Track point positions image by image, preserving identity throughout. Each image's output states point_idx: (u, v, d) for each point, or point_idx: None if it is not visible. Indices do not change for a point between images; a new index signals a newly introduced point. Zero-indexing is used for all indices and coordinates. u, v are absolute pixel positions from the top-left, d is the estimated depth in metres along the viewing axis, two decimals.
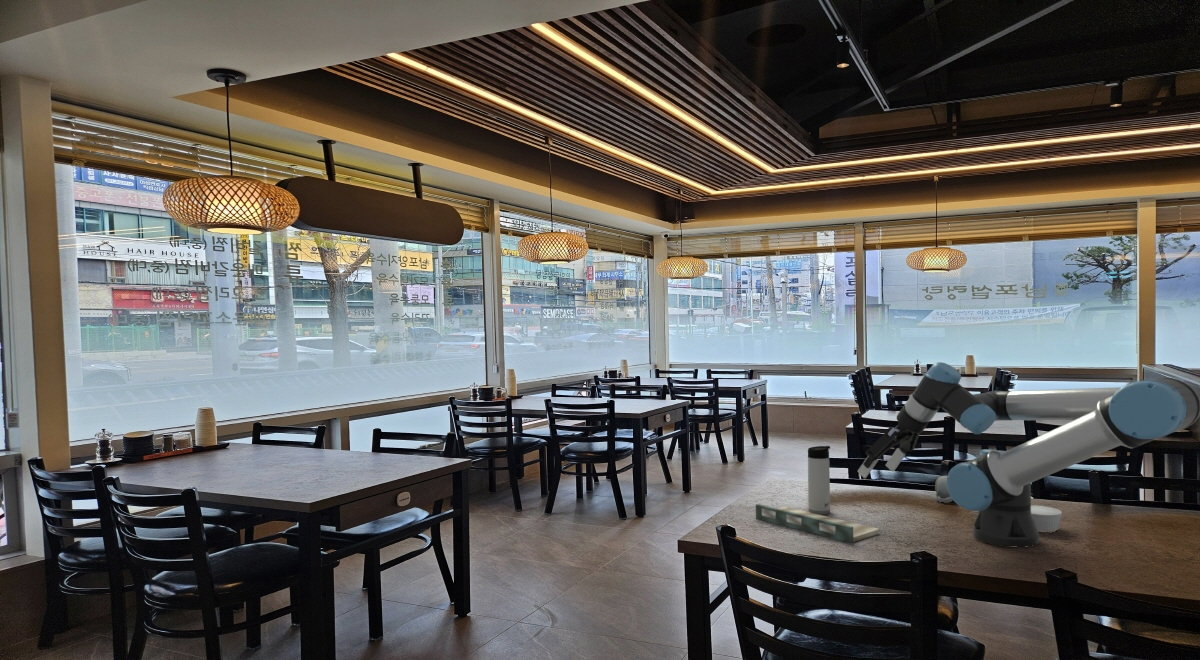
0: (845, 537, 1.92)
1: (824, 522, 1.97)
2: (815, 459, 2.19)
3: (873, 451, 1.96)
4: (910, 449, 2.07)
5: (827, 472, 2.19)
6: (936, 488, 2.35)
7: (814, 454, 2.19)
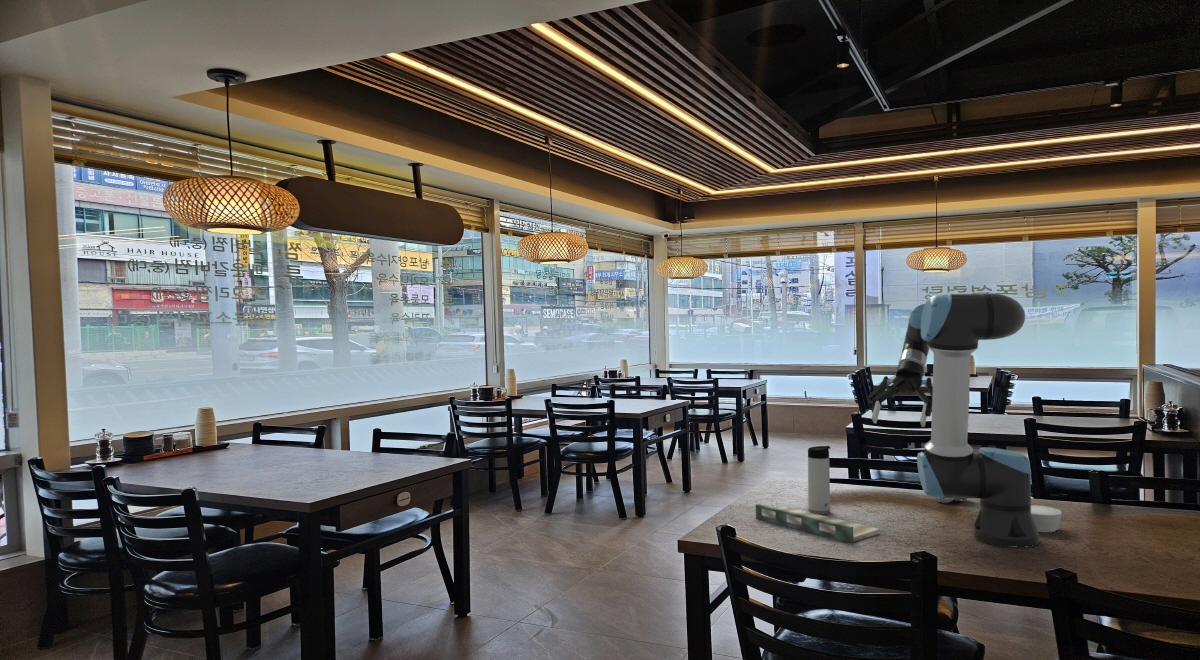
0: (845, 537, 1.92)
1: (824, 522, 1.97)
2: (815, 459, 2.19)
3: None
4: None
5: (827, 472, 2.19)
6: None
7: (814, 454, 2.19)
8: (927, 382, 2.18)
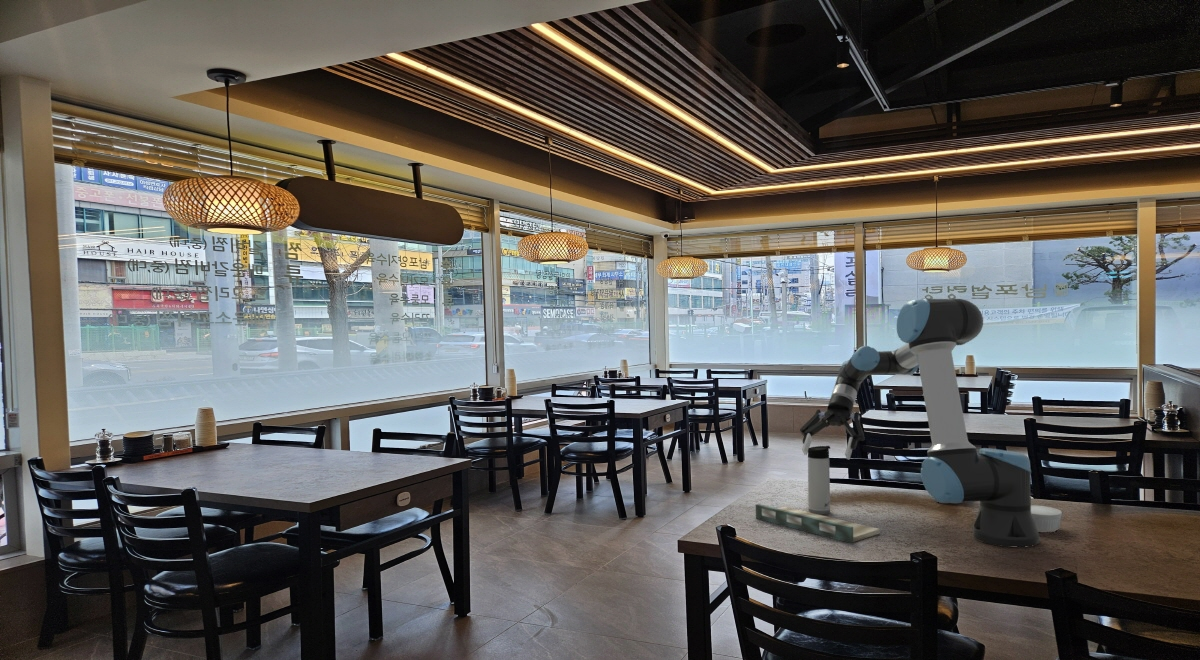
0: (845, 537, 1.92)
1: (824, 522, 1.97)
2: (815, 459, 2.19)
3: None
4: (859, 434, 2.26)
5: (827, 472, 2.19)
6: None
7: (814, 454, 2.19)
8: (854, 416, 2.31)
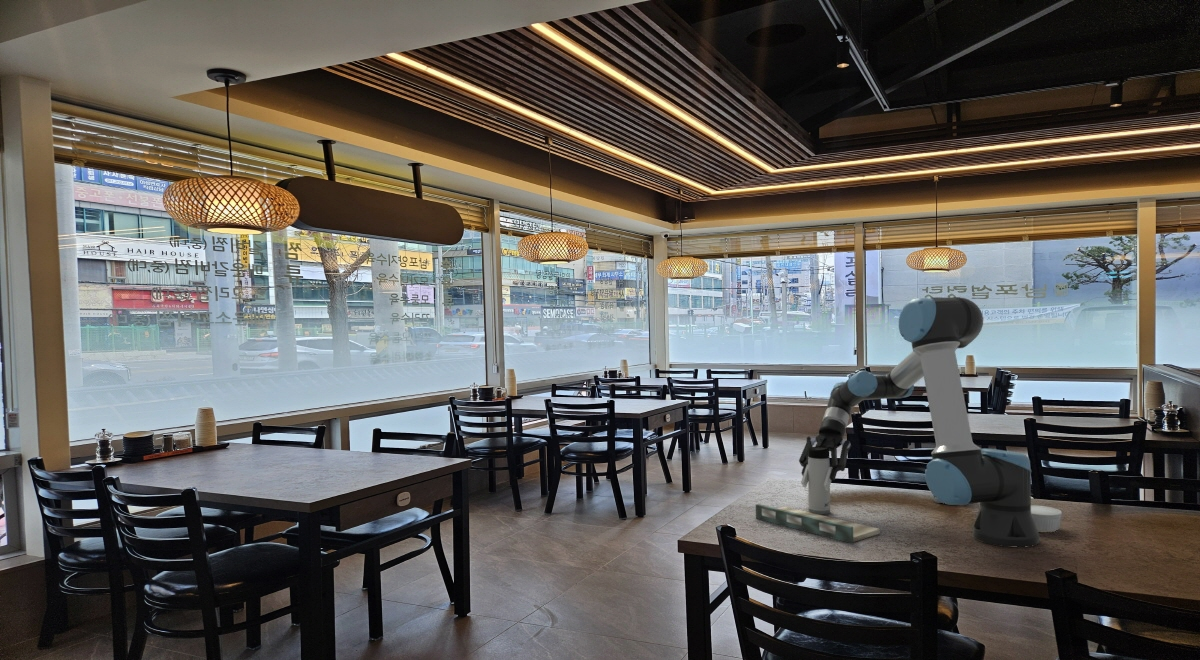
0: (845, 537, 1.92)
1: (824, 522, 1.97)
2: (815, 459, 2.19)
3: None
4: (838, 465, 2.19)
5: None
6: None
7: (815, 454, 2.19)
8: (844, 444, 2.23)
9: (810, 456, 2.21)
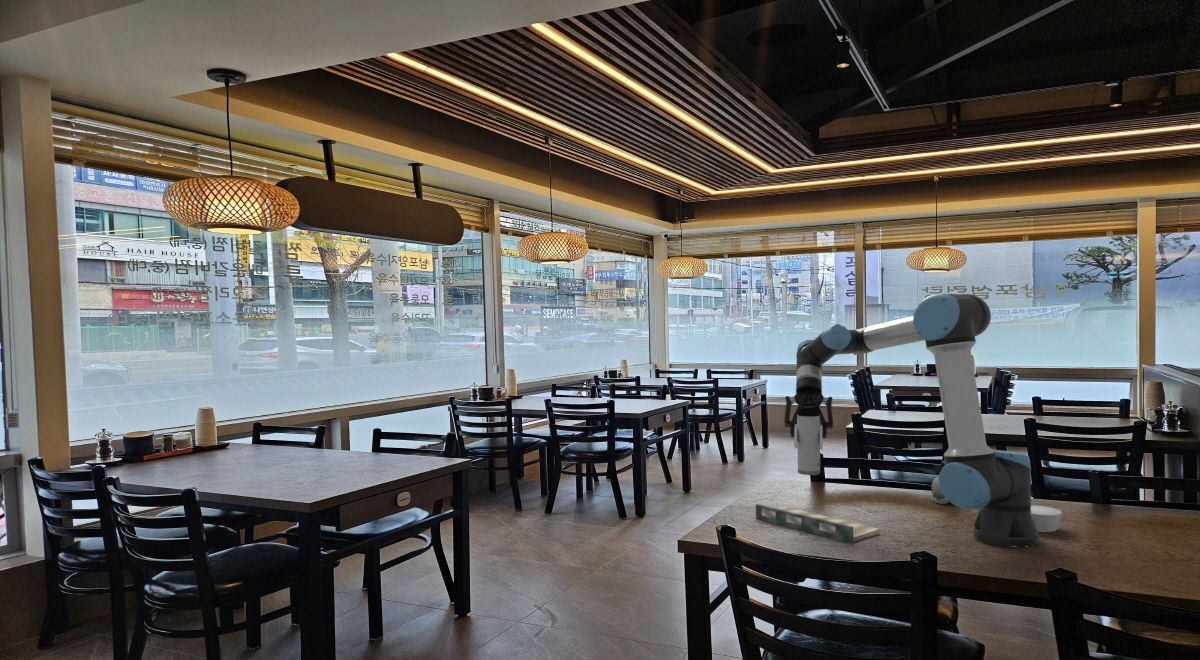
0: (845, 537, 1.92)
1: (824, 522, 1.97)
2: (808, 417, 2.08)
3: (785, 419, 2.16)
4: (828, 422, 2.11)
5: (819, 430, 2.10)
6: (932, 489, 2.34)
7: (808, 412, 2.08)
8: (828, 401, 2.16)
9: (802, 414, 2.09)
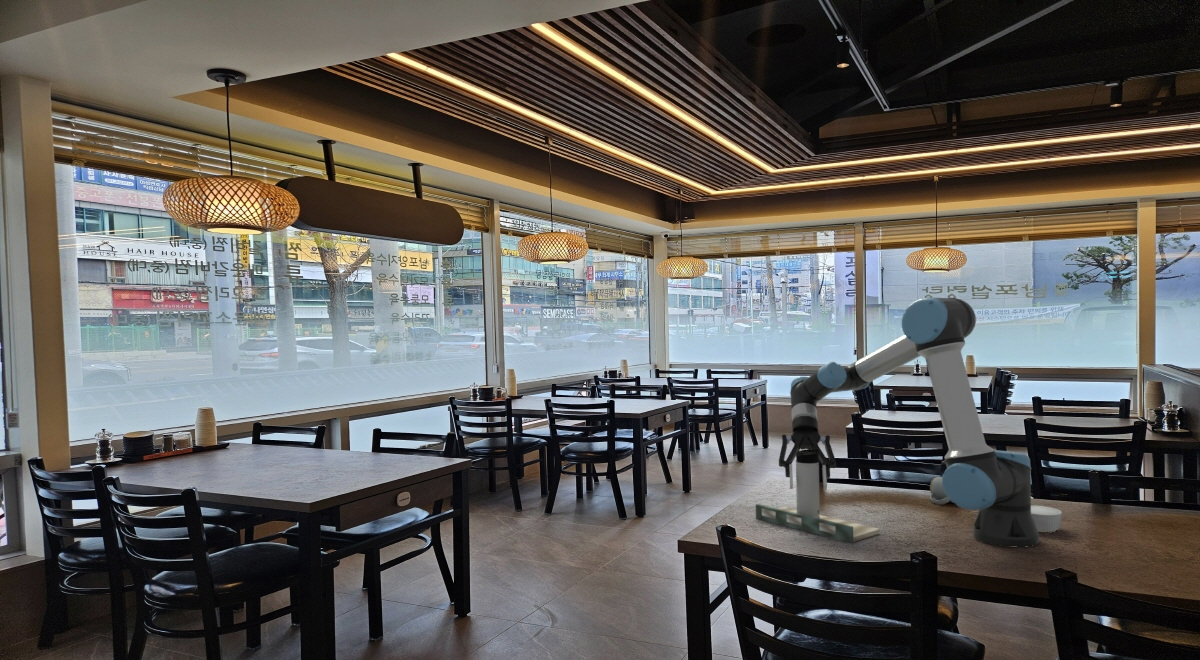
0: (845, 537, 1.92)
1: (824, 522, 1.97)
2: (808, 464, 2.06)
3: None
4: (831, 462, 2.09)
5: (818, 477, 2.07)
6: (931, 489, 2.33)
7: (808, 459, 2.06)
8: (826, 440, 2.14)
9: (802, 461, 2.07)
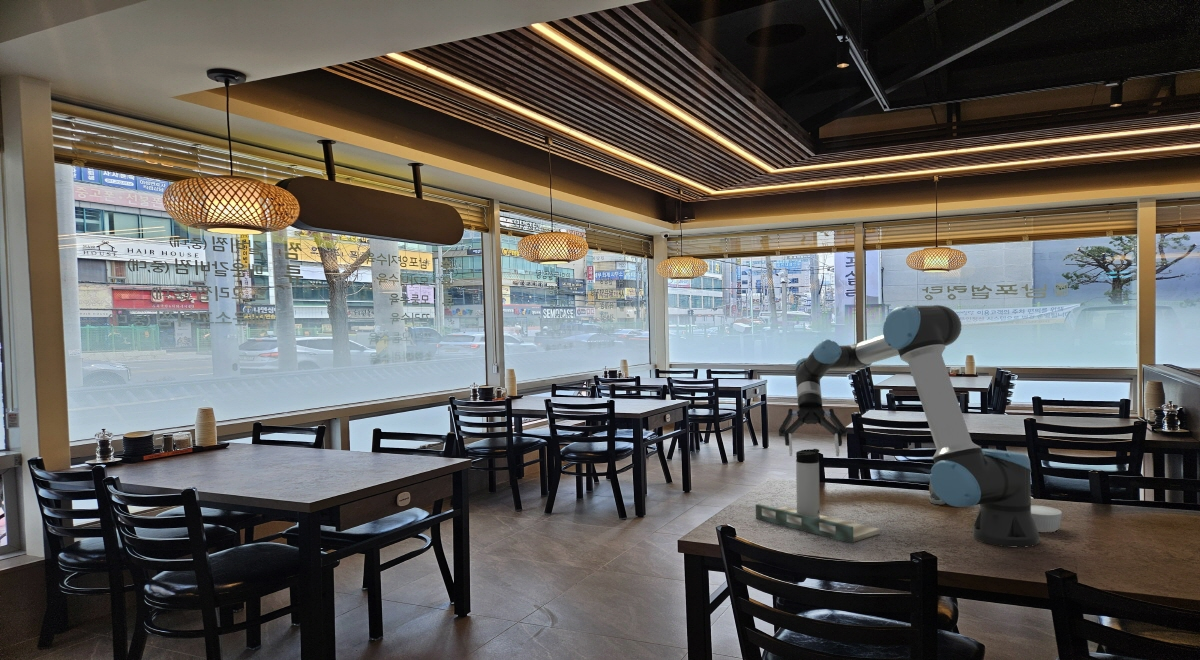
0: (845, 537, 1.92)
1: (824, 522, 1.97)
2: (809, 464, 2.06)
3: None
4: (842, 431, 2.24)
5: (818, 477, 2.07)
6: (930, 490, 2.33)
7: (808, 459, 2.06)
8: (831, 413, 2.29)
9: (802, 461, 2.06)
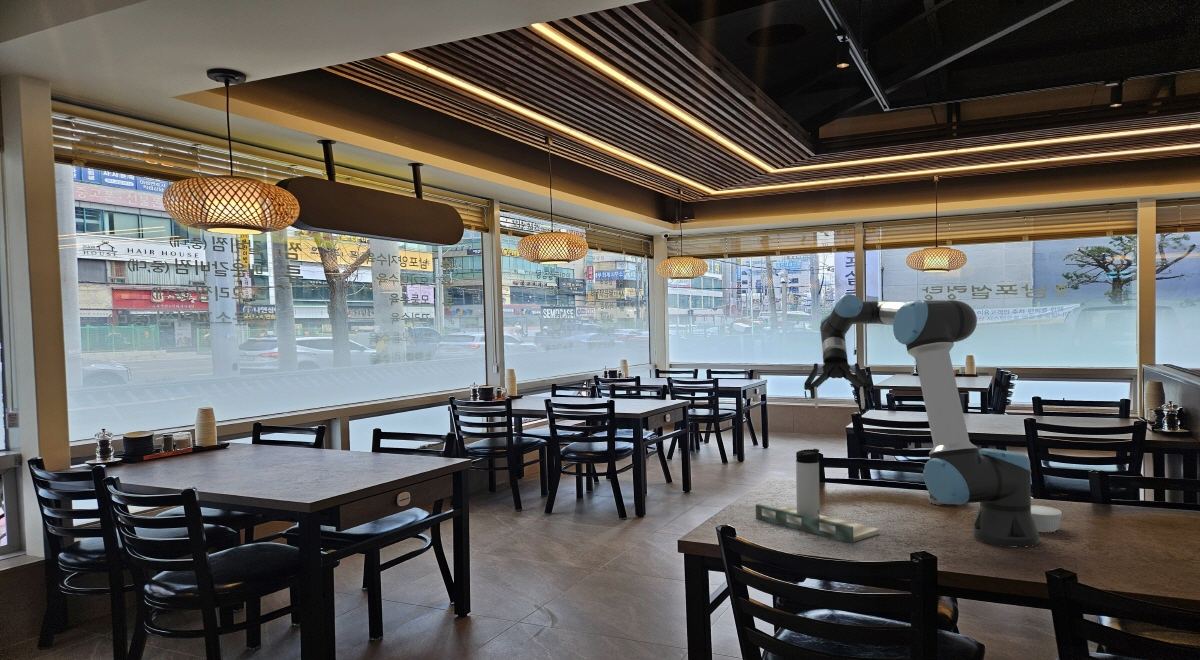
0: (845, 537, 1.92)
1: (824, 522, 1.97)
2: (808, 464, 2.06)
3: None
4: (868, 384, 2.27)
5: (818, 477, 2.07)
6: None
7: (808, 458, 2.06)
8: (856, 367, 2.32)
9: (802, 461, 2.07)
